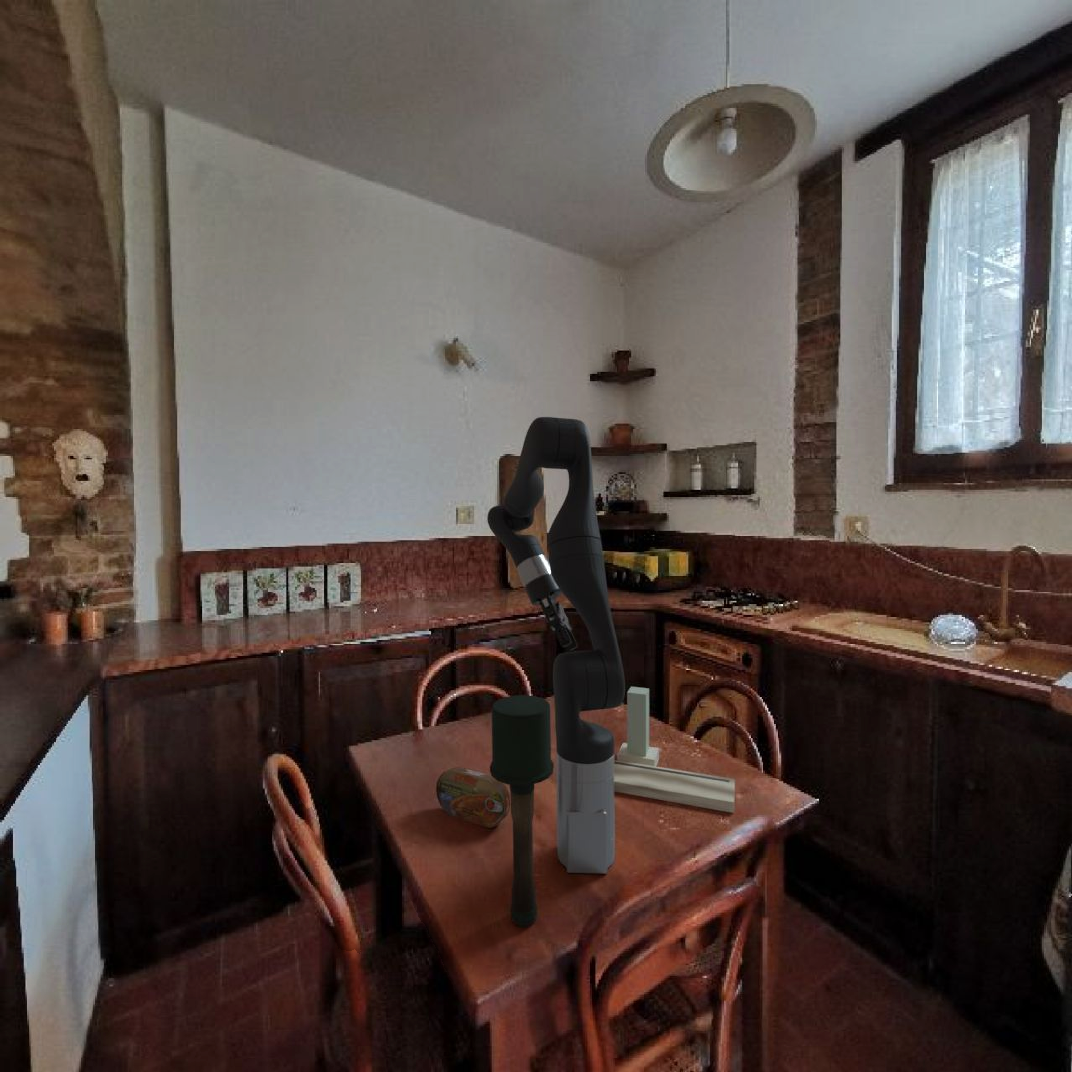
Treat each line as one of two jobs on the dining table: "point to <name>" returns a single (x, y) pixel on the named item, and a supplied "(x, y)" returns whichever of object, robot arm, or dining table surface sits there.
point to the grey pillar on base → (638, 730)
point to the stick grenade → (522, 784)
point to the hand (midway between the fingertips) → (570, 647)
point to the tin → (473, 796)
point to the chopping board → (675, 785)
